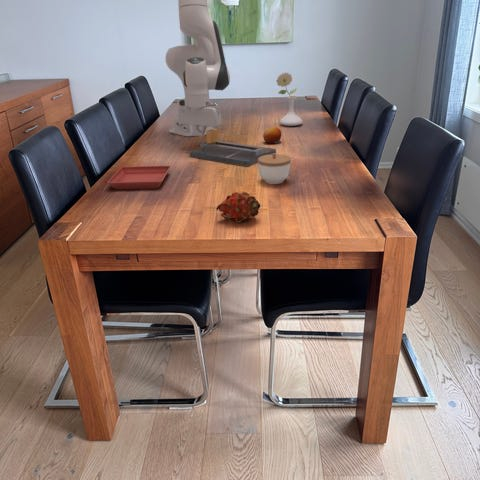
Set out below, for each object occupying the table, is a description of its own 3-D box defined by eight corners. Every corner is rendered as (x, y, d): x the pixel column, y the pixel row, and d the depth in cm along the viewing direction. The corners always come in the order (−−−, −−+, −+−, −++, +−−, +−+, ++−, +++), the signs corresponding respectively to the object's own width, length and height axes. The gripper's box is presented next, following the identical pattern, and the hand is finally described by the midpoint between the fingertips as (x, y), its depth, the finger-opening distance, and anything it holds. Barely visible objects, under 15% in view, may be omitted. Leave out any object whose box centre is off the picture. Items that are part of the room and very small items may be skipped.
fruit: (284, 141, 198) (275, 125, 196) (268, 151, 201) (259, 134, 199) (286, 137, 205) (277, 121, 203) (271, 146, 208) (262, 130, 206)
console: (189, 156, 187) (188, 146, 185) (220, 145, 202) (219, 136, 200) (247, 166, 172) (247, 156, 170) (275, 153, 187) (275, 144, 185)
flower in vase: (302, 122, 239) (303, 70, 228) (302, 127, 228) (304, 73, 218) (276, 122, 240) (276, 71, 229) (275, 127, 230) (275, 74, 219)
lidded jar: (281, 188, 150) (281, 159, 146) (252, 183, 155) (251, 155, 151) (295, 178, 158) (296, 151, 154) (267, 174, 163) (267, 148, 159)
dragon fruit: (264, 226, 127) (221, 232, 129) (262, 200, 131) (220, 206, 133) (259, 210, 120) (213, 216, 122) (257, 182, 124) (213, 189, 126)
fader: (206, 148, 190) (205, 131, 187) (214, 145, 194) (213, 128, 191) (210, 148, 189) (209, 131, 186) (218, 145, 193) (217, 129, 190)
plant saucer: (122, 175, 170) (121, 166, 168) (171, 173, 169) (171, 165, 167) (108, 192, 153) (106, 182, 152) (163, 191, 153) (161, 181, 151)
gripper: (224, 101, 184) (225, 137, 189) (184, 98, 194) (187, 132, 200) (214, 104, 179) (216, 140, 185) (174, 101, 190) (177, 135, 196)
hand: (200, 136), depth 193 cm, fingers closed
